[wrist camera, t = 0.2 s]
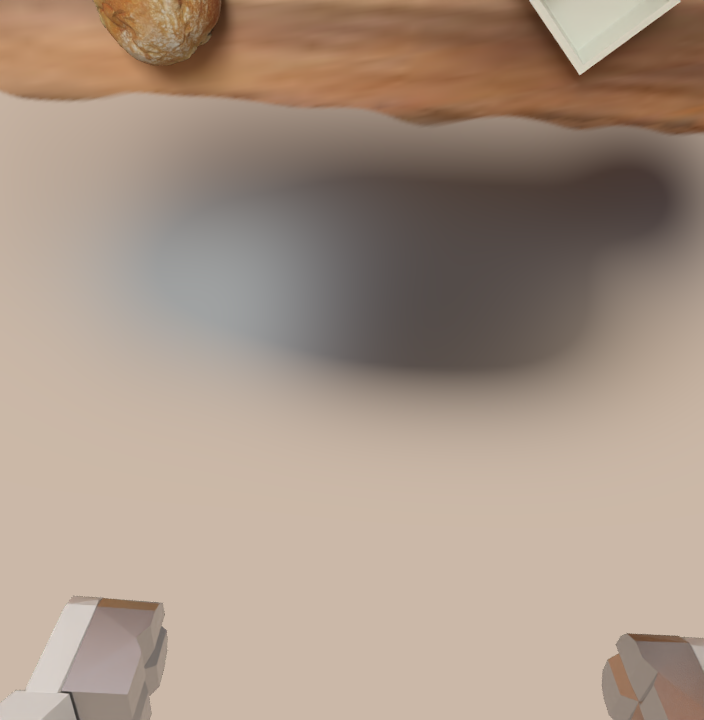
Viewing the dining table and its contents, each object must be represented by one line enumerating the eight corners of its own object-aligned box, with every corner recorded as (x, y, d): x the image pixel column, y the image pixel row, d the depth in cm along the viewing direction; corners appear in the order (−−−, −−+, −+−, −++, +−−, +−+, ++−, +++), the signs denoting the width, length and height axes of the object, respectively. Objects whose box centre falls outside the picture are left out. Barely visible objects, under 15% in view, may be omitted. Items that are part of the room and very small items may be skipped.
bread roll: (181, 43, 57) (199, 103, 54) (65, -2, 50) (77, 63, 47) (228, -56, 50) (251, 5, 47) (102, -124, 44) (119, -57, 41)
